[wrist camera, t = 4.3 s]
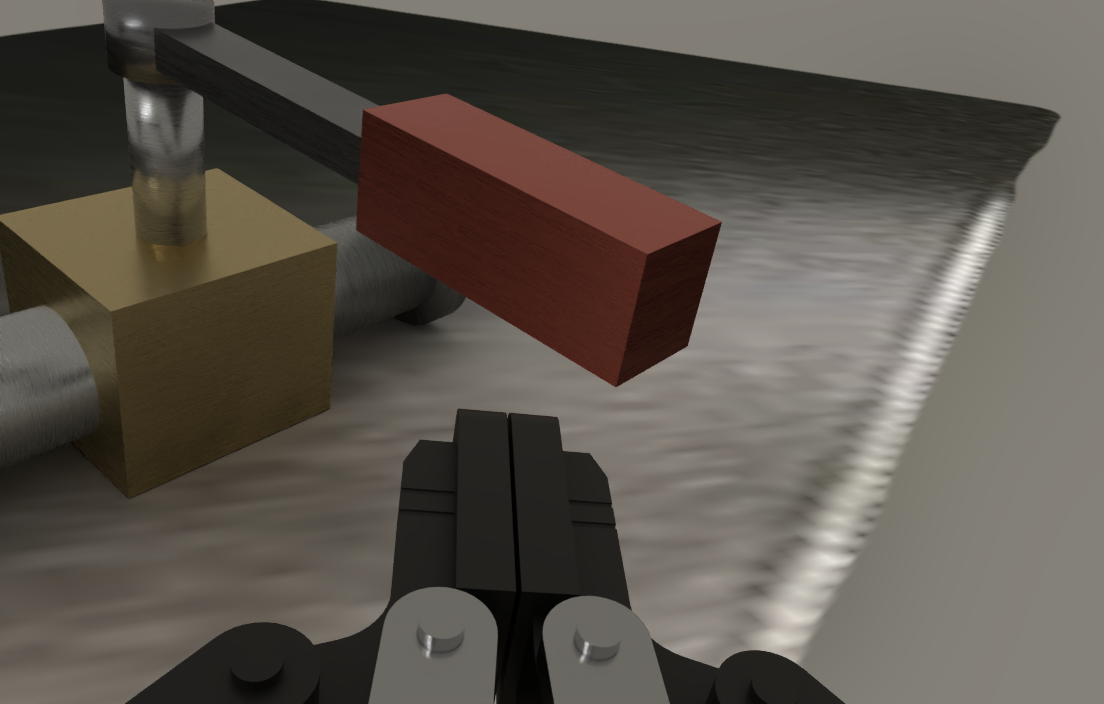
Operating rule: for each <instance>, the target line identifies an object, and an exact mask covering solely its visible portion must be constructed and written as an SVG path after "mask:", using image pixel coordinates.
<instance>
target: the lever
mask: <svg viewBox="0 0 1104 704" xmlns="http://www.w3.org/2000/svg"><path fill="white" fill-rule="evenodd" d="M102 3H103V15H104V27H105V39H106V50H107V62H108V68H109V69H110V70H111V71H112V72H113V73H115V74H117V75H119V76H121V77H123V78H127V79H130V80H134V81H138V82H144V83H151V84H163V85H179V84H181V85H183V86H185V87H186V88H188V89H190V90H192V91H193V92H195V93H197V94H199V95H200V96H202V97H204V98H206V99H207V100H209V101H211V102H213V103H215V104H216V105H218V106H220V107H222V108H223V109H225V110H227V111H229V112H230V113H232V114H234V115H236V116H237V117H239V118H241V119H243V120H244V121H246V122H248V123H250V124H251V125H253V126H255V127H257V128H259V129H260V130H262V131H264V132H266V133H267V134H269V135H271V136H273V137H274V138H276V139H278V140H280V141H281V142H283V143H285V144H287V145H288V146H290V147H292V148H294V149H296V150H297V151H299V152H301V153H303V154H304V155H306V156H308V157H310V158H311V159H313V160H315V161H317V162H318V163H320V164H322V165H324V166H325V167H327V168H329V169H331V170H333V171H334V172H336V173H338V174H340V175H341V176H343V177H345V178H347V179H348V180H350V181H352V182H354V183H355V184H357V185H358V202H357V220H356V231H358V232H359V233H361V234H363V235H364V236H366V237H368V238H369V239H371V240H373V241H374V242H376V243H378V244H379V245H381V246H383V247H384V248H386V249H388V250H389V251H391V252H393V253H394V254H396V255H398V256H399V257H401V258H403V259H404V260H406V261H407V262H409V263H411V264H412V265H414V266H416V267H417V268H419V269H421V270H422V271H424V272H426V273H427V274H429V275H431V276H432V277H434V278H436V279H437V280H439V281H441V282H442V283H444V284H446V285H447V286H449V287H451V288H452V289H454V290H456V291H457V292H459V293H460V294H462V295H464V296H465V297H467V298H469V299H470V300H472V301H474V302H475V303H477V304H479V305H480V306H482V307H484V308H485V309H487V310H489V311H490V312H492V313H494V314H495V315H497V316H499V317H500V318H502V319H504V320H505V321H507V322H509V323H510V324H512V325H513V326H515V327H517V328H518V329H520V330H522V331H523V332H525V333H527V334H528V335H530V336H532V337H533V338H535V339H537V340H538V341H540V342H542V343H543V344H545V345H547V346H548V347H550V348H552V349H553V350H555V351H557V352H558V353H560V354H562V355H563V356H565V357H567V358H568V359H570V360H571V361H573V362H575V363H576V364H578V365H580V366H581V367H583V368H585V369H586V370H588V371H590V372H591V373H593V374H595V375H596V376H598V377H600V378H601V379H603V380H605V381H606V382H608V383H610V384H611V385H613V386H615V387H617V386H619V385H621V384H623V383H624V382H626V381H628V380H630V379H631V378H633V377H635V376H637V375H638V374H640V373H642V372H644V371H645V370H647V369H649V368H650V367H652V366H654V365H656V364H657V363H659V362H661V361H663V360H664V359H666V358H668V357H670V356H671V355H673V354H675V353H677V352H678V351H680V350H682V349H684V348H685V347H687V346H688V343H689V339H690V335H691V332H692V328H693V325H694V321H695V317H696V314H697V310H698V307H699V303H700V299H701V296H702V292H703V289H704V285H705V281H706V278H707V274H708V271H709V267H710V263H711V260H712V256H713V253H714V249H715V245H716V242H717V238H718V234H719V231H720V227H721V224H722V222H721V221H719V220H717V219H715V218H712V217H710V216H708V215H706V214H704V213H702V212H699V211H697V210H695V209H693V208H691V207H689V206H687V205H684V204H682V203H680V202H678V201H676V200H674V199H672V198H669V197H667V196H665V195H663V194H661V193H659V192H657V191H654V190H652V189H650V188H648V187H646V186H644V185H642V184H639V183H637V182H635V181H633V180H631V179H629V178H627V177H624V176H622V175H620V174H618V173H616V172H614V171H611V170H609V169H607V168H605V167H603V166H601V165H599V164H596V163H594V162H592V161H590V160H588V159H586V158H584V157H581V156H579V155H577V154H575V153H573V152H571V151H569V150H566V149H564V148H562V147H560V146H558V145H556V144H554V143H551V142H549V141H547V140H545V139H543V138H541V137H538V136H536V135H534V134H532V133H530V132H528V131H526V130H523V129H521V128H519V127H517V126H515V125H513V124H511V123H508V122H506V121H504V120H502V119H500V118H498V117H496V116H493V115H491V114H489V113H487V112H485V111H483V110H481V109H478V108H476V107H474V106H472V105H470V104H468V103H466V102H463V101H461V100H459V99H457V98H455V97H453V96H450V95H448V94H443V95H437V96H432V97H427V98H421V99H416V100H411V101H406V102H400V103H395V104H390V105H384V106H378V105H376V104H374V103H372V102H370V101H368V100H366V99H364V98H362V97H360V96H358V95H356V94H354V93H352V92H350V91H348V90H346V89H344V88H342V87H340V86H338V85H336V84H334V83H332V82H330V81H328V80H326V79H324V78H322V77H320V76H318V75H316V74H314V73H312V72H310V71H308V70H306V69H304V68H302V67H300V66H298V65H296V64H294V63H292V62H290V61H288V60H286V59H284V58H282V57H280V56H278V55H276V54H274V53H272V52H270V51H268V50H266V49H264V48H262V47H260V46H258V45H256V44H254V43H252V42H250V41H248V40H246V39H244V38H242V37H240V36H238V35H236V34H234V33H232V32H230V31H228V30H226V29H224V28H222V27H220V26H218V25H216V24H215V20H214V2H213V0H102Z"/></svg>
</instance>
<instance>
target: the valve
mask: <svg viewBox="0 0 1104 704" xmlns="http://www.w3.org/2000/svg"><path fill="white" fill-rule="evenodd" d="M124 90H125V103H126V116H127V129H128V142H129V155H130V167H131V180H132V187H128V188H124V189H119V190H114V191H110V192H105V193H100V194H96V195H91V196H86V197H82V198H77V199H72V200H68V201H63V202H58V203H54V204H49V205H44V206H40V207H35V208H30V209H26V210H21V211H16V212H12V213H7V214H2V215H0V252H1V258H2V265H3V271H4V277H5V283H6V289H7V296H8V302H9V308H10V314H7V315H4V316H0V469H2V468H5V467H7V466H10V465H12V464H15V463H18V462H20V461H23V460H25V459H28V458H30V457H33V456H36V455H38V454H41V453H43V452H46V451H48V450H51V449H54V448H56V447H59V446H61V445H64V444H66V443H69V442H72V443H73V444H74V445H75V446H76V447H77V448H78V449H79V450H80V451H81V452H82V453H83V454H84V455H85V456H86V457H87V458H88V459H89V460H90V461H92V462H93V463H94V464H95V465H96V466H97V467H98V468H99V469H100V470H101V471H102V472H103V473H104V474H105V475H106V476H107V477H108V478H109V479H110V480H111V481H112V482H113V483H114V484H115V485H116V486H117V487H118V488H119V489H120V490H121V491H122V492H123V493H124V494H125V495H126V496H127V497H128V498H131V497H133V496H135V495H137V494H140V493H142V492H144V491H146V490H149V489H151V488H153V487H155V486H158V485H160V484H162V483H164V482H167V481H169V480H171V479H173V478H175V477H178V476H180V475H182V474H184V473H187V472H189V471H191V470H193V469H196V468H198V467H200V466H202V465H204V464H207V463H209V462H211V461H213V460H216V459H218V458H220V457H222V456H225V455H227V454H229V453H231V452H233V451H236V450H238V449H240V448H242V447H245V446H247V445H249V444H251V443H254V442H256V441H258V440H260V439H262V438H265V437H267V436H269V435H271V434H274V433H276V432H278V431H280V430H283V429H285V428H287V427H289V426H292V425H294V424H296V423H298V422H300V421H303V420H305V419H307V418H309V417H312V416H314V415H316V414H318V413H321V412H323V411H325V410H327V409H329V408H330V393H331V371H332V349H333V340H334V339H337V338H339V337H342V336H344V335H347V334H350V333H352V332H355V331H357V330H360V329H362V328H365V327H368V326H370V325H373V324H375V323H378V322H380V321H383V320H386V319H388V318H391V317H393V316H394V317H396V318H397V319H399V320H401V321H403V322H406V323H408V324H413V325H423V324H427V323H430V322H432V321H434V320H437V319H439V318H442V317H444V316H447V315H449V314H451V313H453V312H455V311H456V310H457V309H458V308H459V307H460V306H461V305H462V303H463V302H464V300H465V298H466V297H465V296H464V295H462V294H460V293H459V292H457V291H456V290H454V289H452V288H451V287H449V286H447V285H446V284H444V283H442V282H441V281H439V280H437V279H436V278H434V277H432V276H431V275H429V274H427V273H426V272H424V271H422V270H421V269H419V268H417V267H416V266H414V265H412V264H411V263H409V262H407V261H406V260H404V259H403V258H401V257H399V256H398V255H396V254H394V253H393V252H391V251H389V250H388V249H386V248H384V247H383V246H381V245H379V244H378V243H376V242H374V241H373V240H371V239H369V238H368V237H366V236H364V235H363V234H361V233H359V232H358V231H356V220H357V215H356V216H353V217H349V218H345V219H342V220H338V221H335V222H331V223H328V224H324V225H321V226H317V227H314V228H313V227H311V226H309V225H308V224H306V223H305V222H303V221H301V220H300V219H298V218H297V217H295V216H293V215H292V214H290V213H289V212H287V211H285V210H284V209H282V208H281V207H279V206H277V205H276V204H274V203H273V202H271V201H269V200H268V199H266V198H264V197H263V196H261V195H260V194H258V193H256V192H255V191H253V190H252V189H250V188H248V187H247V186H245V185H244V184H242V183H240V182H239V181H237V180H236V179H234V178H232V177H231V176H229V175H228V174H226V173H224V172H223V171H221V170H219V169H218V168H217V169H212V170H208V171H205V148H204V119H203V97H202V96H200V95H199V94H197V93H195V92H193V91H192V90H190V89H188V88H186V87H185V86H183V85H181V84H179V85H163V84H151V83H144V82H138V81H134V80H130V79H127V78H124Z"/></svg>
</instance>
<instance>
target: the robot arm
mask: <svg viewBox="0 0 1104 704" xmlns="http://www.w3.org/2000/svg"><path fill="white" fill-rule="evenodd" d="M615 525H616V523H615V517H614V512H613V508H612V501H611V495H610V490H609V484H608V478H607V476H606V475H605V473H604V472H603V471H602V469H601V468H600V467H599V465H598V464H597V463H596V461H595V460H594V459H593V457H592V456H591V455H590V453H579V452H567V451H563V450H562V442H561V434H560V426H559V420H558V418H557V417H551V416H540V415H528V414H516V413H509V415H508V418H507V414H506V413H503V412H491V411H480V410H468V409H458V410H457V415H456V422H455V429H454V437H453V442H442V441H430V440H419V442H418V443H417V444H416V446H415V447H414V448H413V450H412V451H411V452H410V454H409V455H408V456H407V458H406V459H405V460H404V462H403V472H402V482H401V492H400V502H399V512H398V521H397V531H396V542H395V553H394V564H393V575H392V587H391V598H390V601H389V603H388V606H387V607H386V609H385V611H384V612H383V614H382V615H381V616H380V617H379V618H378V619H377V620H376V621H375V622H374V623H373V624H371V625H370V626H369V627H367V628H366V629H364V630H362V631H361V632H359V633H356V634H354V635H352V636H349V637H346V638H342V639H339V640H334V641H330V642H325V643H321V644H317V645H313V644H312V642H311V641H310V640H309V639H308V638H307V637H306V636H305V635H303V634H302V633H300V632H299V631H297V630H295V629H293V628H291V627H288V626H286V625H281V624H277V623H268V622H261V623H251V624H245V625H241V626H238V627H235V628H232V629H230V630H228V631H226V632H224V633H222V634H220V635H219V636H217V637H216V638H214V639H213V640H211V641H210V642H209V643H207V644H206V645H205V646H203V647H202V648H201V649H199V650H198V651H196V652H195V653H194V654H192V655H191V656H190V657H188V658H187V659H185V660H184V661H183V662H181V663H180V664H179V665H177V666H176V667H175V668H173V669H172V670H170V671H169V672H168V673H166V674H165V675H164V676H162V677H161V678H159V679H158V680H157V681H155V682H154V683H153V684H151V685H150V686H149V687H147V688H146V689H144V690H143V691H142V692H140V693H139V694H138V695H136V696H135V697H133V698H132V699H131V700H129V701H128V702H127V703H125V704H494V701H495V696H496V704H845V703H844V702H843V701H841V700H840V699H839V698H837V696H835V695H834V694H833V693H832V692H830V691H829V690H828V689H827V688H826V687H824V686H823V685H822V684H821V683H820V682H819V681H817V680H816V679H815V678H814V677H813V676H811V675H810V674H809V673H808V672H807V671H805V670H804V669H803V668H801V667H800V666H799V665H797V664H796V663H794V662H793V661H791V660H789V659H787V658H785V657H783V656H780V655H778V654H774V653H771V652H766V651H760V650H749V651H743V652H739V653H736V654H734V655H732V656H730V657H729V658H727V659H726V660H725V661H724V662H723V663H722V664H721V666H720V668H716V667H713V666H710V665H707V664H704V663H701V662H698V661H695V660H692V659H689V658H686V657H683V656H680V655H678V654H675V653H673V652H671V651H669V650H667V649H665V648H664V647H662V646H661V645H659V644H658V643H656V642H655V641H654V640H653V639H652V638H651V637H650V634H649V632H648V629H647V628H646V626H645V625H644V623H643V622H642V621H641V619H640V618H639V617H638V616H637V615H636V614H635V613H633V612H632V609H631V606H630V601H629V595H628V590H627V584H626V579H625V573H624V568H623V562H622V556H621V551H620V545H619V540H618V534H617V529H615Z"/></svg>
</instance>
